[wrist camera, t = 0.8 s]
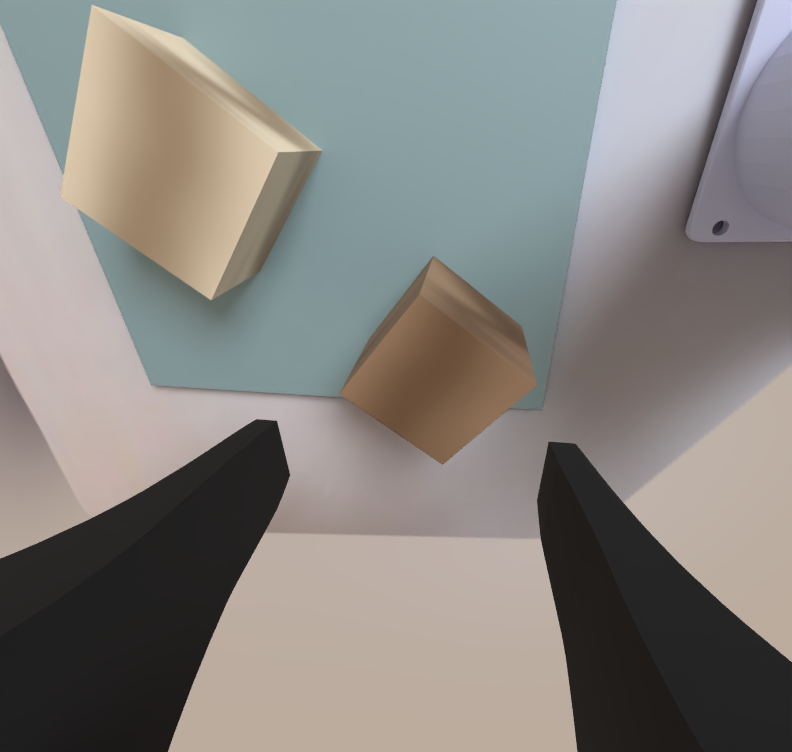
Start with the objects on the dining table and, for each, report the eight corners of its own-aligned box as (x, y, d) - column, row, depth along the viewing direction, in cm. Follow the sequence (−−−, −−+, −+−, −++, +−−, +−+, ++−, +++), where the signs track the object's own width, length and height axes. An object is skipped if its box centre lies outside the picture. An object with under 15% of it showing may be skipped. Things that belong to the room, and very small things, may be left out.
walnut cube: (521, 326, 17) (536, 384, 13) (449, 396, 20) (442, 464, 16) (433, 255, 16) (419, 294, 12) (369, 338, 19) (339, 394, 15)
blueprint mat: (638, -141, 11) (644, -151, 10) (540, 405, 20) (542, 410, 19) (-17, -40, 14) (-28, -44, 14) (155, 381, 23) (151, 385, 23)
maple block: (322, 150, 15) (278, 152, 12) (260, 271, 18) (211, 300, 15) (183, 38, 14) (91, 4, 11) (142, 186, 17) (60, 196, 14)
